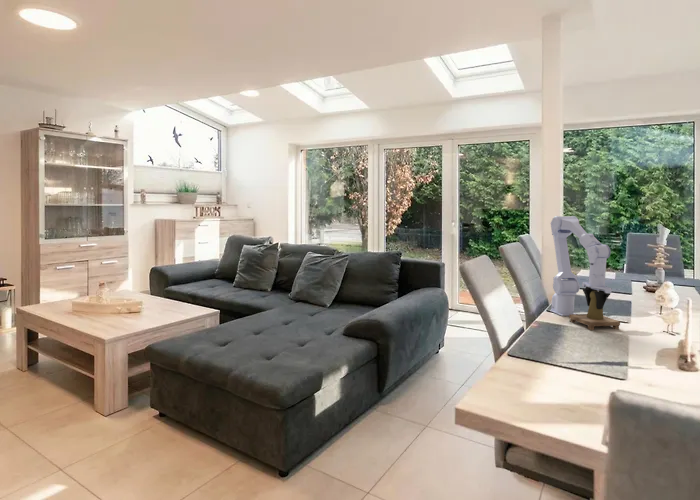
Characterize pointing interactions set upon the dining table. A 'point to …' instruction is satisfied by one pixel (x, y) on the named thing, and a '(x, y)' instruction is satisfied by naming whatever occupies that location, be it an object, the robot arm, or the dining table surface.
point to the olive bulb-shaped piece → (594, 308)
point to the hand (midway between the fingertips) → (594, 307)
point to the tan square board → (594, 321)
